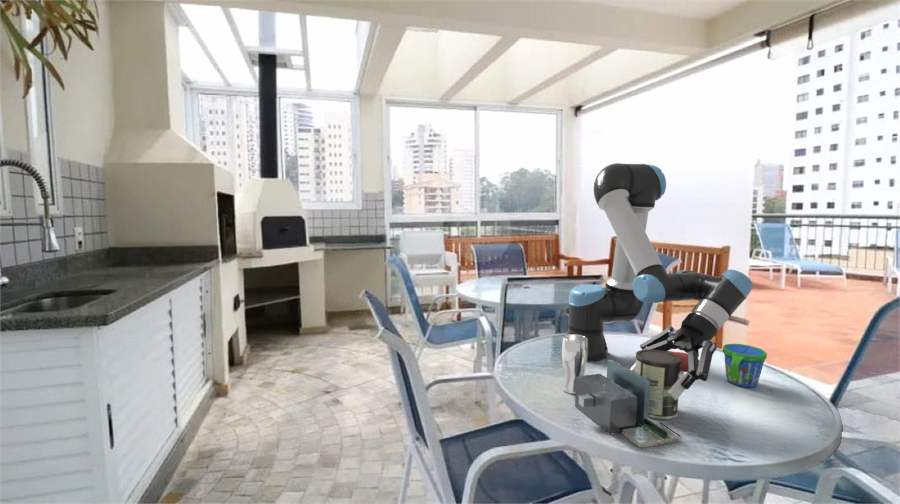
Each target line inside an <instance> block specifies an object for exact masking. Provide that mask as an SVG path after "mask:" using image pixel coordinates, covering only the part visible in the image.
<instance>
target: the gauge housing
mask: <svg viewBox="0 0 900 504" xmlns="http://www.w3.org/2000/svg"><path fill="white" fill-rule="evenodd" d="M586 394H592V395H593V396H595V406H588V407H582V406H581V405H580V404H579V395H586ZM574 395H575V397H574V399H575V401H574V407H575V408H576V409H577V410H579V411H580V412H581V413H582V414H583V415H585V416H586V417H587V418H588V419H590V420H591V421H592V422H593V423H594V424H596V425H597V426H598V425H599V426H600V429H602V430H603V429H604V430H605V431H604V430H603V431H604V432H606V433H607V432H608V433H609V434H608V433H607V434H608V435H612V434H611V433H615V434H620V433H621V434H622V435H623V436H625V438H627V439H628V440H630V441H631V442H632V443H633V444H634V445H636V446H637V447H638V446H639V448H640V449H642V448H641V447H644V448H648V447H654V445H655V446H659V445H658V444H660V445H665V444H670V443H676V442H679V441H680V437H682V436H681V434H679V433H677V432H676V431H674V430H673V429H671V428H669V427H668V426H666V425H665V424H664V423H662V422H659V423H654V424H655V425H657V426H658V427H660V428H661V429H663V430H664V431H666V432H667V436H663V435H661V434H660V433H658V432H657V431H655V430H654V429H652V428H651V427H650V426H648V425H644V426H641V425H640V426H637V424H636V423H637V422H636V411H637V396H635V395H633V394H632V393H630V392H629V391H627V390H625V389H624V388H622V387H621V386H619V385H617V384H616V383H614V382H613V381H611V380H609V379H608V378H607V376H604V375H603V374H601V373H596V374H595V373H593V374H586V375H585V374H584V376H577V377H576V394H574ZM599 426H598V427H599Z"/></svg>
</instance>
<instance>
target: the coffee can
mask: <svg viewBox="0 0 900 504" xmlns="http://www.w3.org/2000/svg"><path fill="white" fill-rule="evenodd" d="M635 363H636V372H635V373H637V374H639V375H641V376H643V377H644V378H646V379H648V380H650V391H649V407H648V418H652V419H657V420H672V419H675V418H677V416H678V415H679V414H678V413H679V412H678V410H679V409H678V408H679V398H678V399H677V400H675V399H673V398H672V397H671V395H670V394H669V393H668V391H669V390H670V389H671V387H672V386H673V385H674V384H675V383H676V381H677V380H678V379H679V378H680V377H681V371H680V365H681V358H680V357H679V356H677V355H675V354H672V353H670V352H666V351H660V350H642V349H641V350H638V351H636V352H635Z"/></svg>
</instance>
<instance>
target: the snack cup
mask: <svg viewBox="0 0 900 504" xmlns="http://www.w3.org/2000/svg"><path fill="white" fill-rule="evenodd" d="M722 353H723V354H724V368H725V377H726V381H727V382H729V383H731V384H732V385H735V386H738V387H743V388H755V387H757V385H758V384H759V381H760V377H761V373H762V370H763V367H764V363H765V360H767V357H768V353H767V352H766V351H765V350H764V349H762V348H759V347H756V346H752V345H750V344H749V345H748V344H742V343H726V344H724V345H723V346H722Z"/></svg>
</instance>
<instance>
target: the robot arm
mask: <svg viewBox="0 0 900 504" xmlns="http://www.w3.org/2000/svg"><path fill="white" fill-rule="evenodd" d="M666 189H667V180H666V177H665V174H664V172H663V171H662V170H661V168H660V167H658V166H656V165H653V164H648V163H647V164H646V163H620V162H619V163H618V162H616V163H610V164H609V165H607V166H605V167H604V168H602V169H601V170H600V171H599V173H598V174H597V175H596V178H595V180H594V183H593V195H594V199H595V202H596V204H597V206H598V209H600V210H602V211H604V212H605V213H604V214H606V217H607V219H608V221H609V222H610V225H611V227H612V229H613V231H614V233H615V236H616V239H615V240H616V242H615V247H614V256H613V263H612V269H611V270H612V271H611V276H610V277H609V278H608V279H606V280H605V286H603V285H600V284H581V285H576V286H574V287H573V288H572V289H570V291H569V296H568V320H567V321H568V322H567V324H568V325H567V332H566V334H565V335H567V334H577V335H582V336H585V337H587V339H588V340H587V341H588V357H587V362H589V361H592V362H593V361H595V362H596V361H602V360H604V359H606V358H608V355H609V348H608V345H607V341H606V338H605V335H604V327H605V326H604V324H606V323H616V322H617V323H618V322H631V321H634V320H637V319H639V318H641V317H642V316H643V315H644V314H645V312H646V309H647V305H648V303H652V304H653V303H654V304H656V303H657V304H658V303H662V302H664V303H665V302H680V301H698V302H697V303H696V305H695V306H694V307H693V308H692V309H691V312H690V313H688V314H687V315H686V317H685V318H683V320H682V321H681V326H680V328H679V329H677V330H676V329H675V328H674V327H673V326H672V325H668V326H667V327H666V328H665V329H664V330H663V331H661V332H660V333H657V334H656V335H654V336H653V337H651V338H649V339H648V340H646V341H644V342H643V343H641V344H640V345H639V348H640V349H641V350H660V351H670V350H680V351H684V353H687V354H688V366H689V371H688V370H687V371H688V372H683V373H682V374H680V378H679V379H678V380H677V381H676V383H675V384H674V385H673V386H672V387H671V389H670V390H669V391H668V393H669V394H670V395H671V397H672V398H673V399H675V400H677V399H678V400H679V397H680V396H681V395H682V394H683V392H685V390H689V389H690V387H691V386H692V385H693V384H694V383H695V381H698V380H702V381H703V382H706V381H707V380H708V379H709V375H710V374H709V373H710V370H711V364H712V359H713V354H714V353H716V350H717V346H716V344H714V342H713V341H712V340H713V338H714V337H715V336H716V335H717V333H718V330H720V329H721V328H723V326H724V325H725V323H726V322H727V321H728V320H729V318H730V317H731V316H732V315H733V313H735V311H736V310H737V309H738V308H739V307H740V306H741V304H742V303H743V302H744V301H745V300H747V298H748V296H749V294H750V293H751V292H752V290H753V288H754V284H753V282H752V280H751V279H750V277H748V276H747V275H746V274H745V273H743V272H742V271H739V270H736V269H728V270H727V269H726V270H725V271H724V272H723V273H721V274H720V276H716V275H711V274H705V273H701V272H696V271H695V270H685V269H681V270H678V271H677V272H675V273H668V272H667V270H666V268H665V267H664V265H663V263H662V260H660V258H659V257H660V256H659V255H658V253H657V252H656V250H655V248H654V245H653V244H652V242H651V240H650V238H649V236H648V234H647V233H646V231H647V225H648V217H649V213H650V211H652V210H653V209H654V208H655V205H656V204H655V203H656V202H657V201H658V200H660V199H661V198H662V196H663V195H664V194H665V192H666ZM700 349H701V352H699V351H700ZM699 353H700V354H699ZM699 357H700V358H699ZM698 360H699V362H698ZM698 363H699V364H698ZM629 369H630V370H632V371H633V372H636V362H634V364H633V365H632V366H631V367H630V368H629Z"/></svg>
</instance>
